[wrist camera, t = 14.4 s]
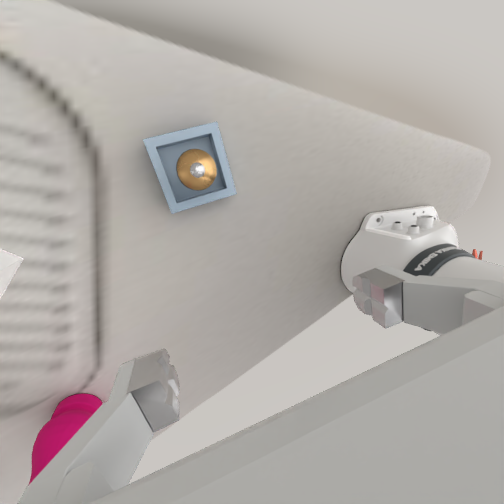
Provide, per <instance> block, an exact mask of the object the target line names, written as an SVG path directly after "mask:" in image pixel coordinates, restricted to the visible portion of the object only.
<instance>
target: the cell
mask: <svg viewBox="0 0 504 504" xmlns="http://www.w3.org/2000/svg"><path fill="white" fill-rule="evenodd" d="M176 172H177V176H178V178H179V180H180V181H181V183H182V184H183V185H184V186H186V187H187V188H189V189H191V190H196V191H199V190H204V189H206V188H208V187H210V186H211V185H212V184H213V182H214V180H215V178H216V174H217V168H216V164H215V162H214V160H213V158H212V157H211V156H210V155H209V154H208V153H207V152H205V151H203V150H200V149H189V150H187V151H185V152H183V153H182V154H181V155H180V157H179V158H178V161H177V164H176Z"/></svg>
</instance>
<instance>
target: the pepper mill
mask: <svg viewBox="0 0 504 504" xmlns="http://www.w3.org/2000/svg"><path fill="white" fill-rule="evenodd" d="M101 405H102V402H101V400H100V399H99V398H97V397H96V396H94V395H90V394H75V395H72V396H69V397H67V398H65V399H64V400H62V401H61V402H60V403H59V404H58V406H57V408H56V409H55V411H54V413H53V415H52V418H51V420H50V421H49V422H47V423H46V424H45V425H44V426H43V428H42V429H41V430H40V432H39V434H38V436H37V438H36V441H35V443H34V446H33V452H32V474H31V479H30V482H29V484H30V483H31V482H32V481H33V480H34V479H35V478H36V477H37V475H38V474H39V473H40V472H41V471H42V470H43V469H44V468H45V467H46V466H47V465H48V463H49V462H50V461H51V460H52V459H53V458H54V457H55V456H56V455H57V454H58V452H59V451H60V450H61V449H62V448H63V447H64V446H65V445H66V444H67V443H68V441H69V440H70V439H71V438H72V437H73V436H74V435H75V434H76V433H77V432H78V431H79V429H80V428H81V427H82V426H83V425H84V424H85V423H86V422H87V421H88V420H89V418H90V417H91V416H92V415H93V414H94V413H95V412H96V411H97V410H98V409H99V407H100V406H101ZM17 504H18V503H17Z"/></svg>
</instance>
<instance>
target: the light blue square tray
mask: <svg viewBox="0 0 504 504" xmlns="http://www.w3.org/2000/svg"><path fill="white" fill-rule="evenodd" d="M143 141H144V144H145V146H146V149H147V151H148V154H149V156H150V159H151V162H152V164H153V167H154V169H155V172H156V174H157V177H158V180H159V182H160V185H161V187H162V190H163V192H164V195H165V198H166V200H167V203H168V205H169V208H170V210H171V213H172V214H173V213H176V212H179V211H183V210H186V209H189V208H192V207H196V206H199V205H202V204H206V203H209V202H212V201H215V200H219V199H222V198H225V197H229V196H232V195H235V194H237V193H236V189H235V185H234V182H233V178H232V174H231V171H230V167H229V163H228V160H227V156H226V152H225V149H224V145H223V142H222V138H221V134H220V131H219V127H218V123H217V122H213V123H209V124H205V125H201V126H196V127H192V128H188V129H184V130H180V131H176V132H171V133H167V134H163V135H159V136H155V137H151V138H146V139H143ZM189 149H200V150H203V151H205V152H207V153H208V154H209V155H210V156H211V157H212V158H213V160H214V162H215V164H216V168H217V174H216V178H215V180H214V182H213V184H212V185H211V186H210V187H208V188H206V189H204V190H199V191H196V190H191V189H189V188H187V187H186V186H184V185H183V184H182V183H181V181H180V180H179V178H178V176H177V172H176V164H177V161H178V158H179V157H180V155H181V154H182V153H183V152H185V151H187V150H189Z"/></svg>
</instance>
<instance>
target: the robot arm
mask: <svg viewBox="0 0 504 504" xmlns="http://www.w3.org/2000/svg"><path fill="white" fill-rule="evenodd" d="M341 276H342V280H343V283H344V285H345V286H346V288H347V289H348V290H349V291H351V292H352V293H354V294H353V295H354V301H355V303H356V305H357V307H358V308H359V309H360V311H362V312H363V313H364V314H368V315H372V318H373V320H374V321H376V322H377V323H379V324H380V325H381V326H383V327H384V328H388V327H391V326H393V325H395V324H398V323H400V322H403V321H404V322H405V323H408V324H411V325H415V326H418V327H421V328H423V329H425V330H428V331H434V332H435V333H437V334H439V335H440V336H439V337H437V338H435V339H433V340H431V341H429V342H427V343H425V344H423V345H420V346H418V347H416V348H414V349H412V350H410V351H408V352H406V353H403V354H401V355H399V356H397V357H395V358H393V359H391V360H389V361H386V362H384V363H382V364H380V365H378V366H376V367H374V368H372V369H370V370H367V371H365V372H363V373H361V374H359V375H357V376H355V377H353V378H351V379H349V380H347V381H345V382H342V383H340V384H338V385H336V386H334V387H332V388H330V389H328V390H326V391H323V392H321V393H319V394H317V395H315V396H313V397H311V398H309V399H307V400H305V401H303V402H301V403H298V404H296V405H294V406H292V407H290V408H288V409H286V410H284V411H282V412H280V413H277V414H276V415H273V416H271V417H269V418H267V419H265V420H263V421H261V422H259V423H256V424H254V425H252V426H250V427H248V428H246V429H244V430H242V431H240V432H238V433H235V434H233V435H231V436H229V437H227V438H225V439H223V440H221V441H219V442H217V443H215V444H213V445H210V446H208V447H206V448H204V449H202V450H200V451H198V452H196V453H194V454H191V455H189V456H187V457H185V458H183V459H181V460H179V461H177V462H175V463H173V464H171V465H168V466H166V467H164V468H162V469H160V470H158V471H156V472H154V473H152V474H150V475H147V476H145V477H143V478H141V479H139V480H137V481H135V482H133V483H131V484H129V485H128V483H129V481H130V479H131V478H132V475H133V474H134V472H135V470H136V468H137V466H138V464H139V462H140V460H141V458H142V456H143V454H144V452H145V450H146V448H147V446H148V444H149V442H150V441H151V439H152V437H153V435H154V433H153V432H156V431H158V430H160V429H162V428H164V427H166V426H168V425H170V424H172V423H174V422H177V421H179V401H178V399H177V395H178V394H179V380H178V375H177V372H176V370H175V367H174V366H173V365H171V364H169V362H170V356H169V354H168V352H167V350H166V349H161V350H158V351H156V352H153V353H150V354H147V355H144V356H142V357H139V358H137V359H133V360H131V361H128V362H126V363H123V364H122V365H121V366H120V368H119V371H118V374H117V377H116V380H115V382H114V385H113V388H112V391H111V394H110V397H109V400H108V402H105V403H103V404H102V405H101V406H100V407H99V409H98V410H97V411H96V412H95V413H94V414H93V415H92V416H91V417H90V418H89V420H88V421H87V422H86V423H85V424H84V425H83V426H82V427H81V428H80V429H79V431H78V432H77V433H76V434H75V435H74V436H73V437H72V438H71V439H70V440H69V441H68V443H67V444H66V445H65V446H64V447H63V448H62V449H61V450H60V451H59V452H58V454H57V455H56V456H55V457H54V458H53V459H52V460H51V461H50V462H49V463H48V465H47V466H46V467H45V468H44V469H43V470H42V471H41V472H40V473H39V474H38V475H37V477H36V478H35V479H34V480H33V481H32V482H31V483H30V484H29V485H28V486H27V488H26V489H25V491H24V493H23V495H22V497H21V499H20V501H19V503H18V504H504V266H501V265H498V264H494V263H490V262H487V261H483V260H482V251H481V252H480V254H479V258H477V252H476V249H474V250H473V253H472V255H471V254H470V253H468V252H466V251H465V250H463V249H461V248H459V244H458V237H457V233H456V230H455V228H454V227H453V226H452V225H451V224H450V223H447V222H443V221H439V218H438V214H437V212H436V210H435V208H434V207H432V206H420V207H412V208H405V209H398V210H390V211H383V212H375V213H370V214H368V215H367V216H366V217H365V219H364V221H363V223H362V225H361V228H360V230H359V232H358V233H357V234H356V236H355V237H354V238H353V239H352V240H351V242H350V243H349V245H348V247H347V248H346V250H345V253H344V255H343V259H342V264H341Z"/></svg>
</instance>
